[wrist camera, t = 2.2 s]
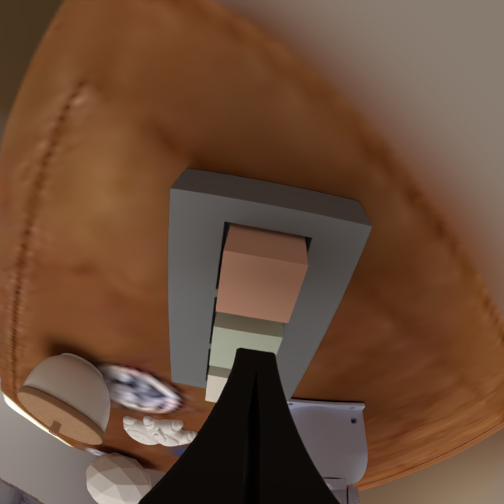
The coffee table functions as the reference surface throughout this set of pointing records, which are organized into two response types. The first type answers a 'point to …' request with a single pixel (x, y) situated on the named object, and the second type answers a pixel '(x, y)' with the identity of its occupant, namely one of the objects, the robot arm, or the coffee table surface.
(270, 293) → the pink block
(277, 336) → the sage key
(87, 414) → the lidded jar
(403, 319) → the coffee table surface
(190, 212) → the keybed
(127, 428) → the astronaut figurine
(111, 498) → the geometric shape
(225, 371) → the ivory key
